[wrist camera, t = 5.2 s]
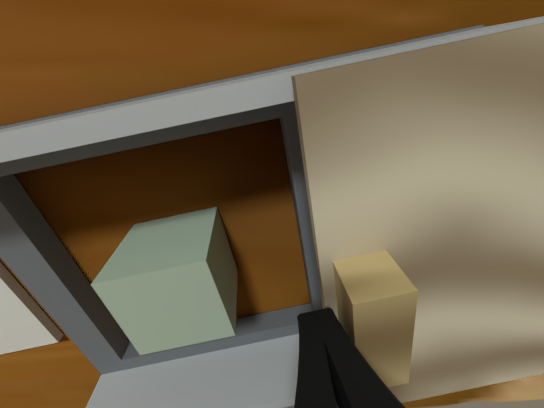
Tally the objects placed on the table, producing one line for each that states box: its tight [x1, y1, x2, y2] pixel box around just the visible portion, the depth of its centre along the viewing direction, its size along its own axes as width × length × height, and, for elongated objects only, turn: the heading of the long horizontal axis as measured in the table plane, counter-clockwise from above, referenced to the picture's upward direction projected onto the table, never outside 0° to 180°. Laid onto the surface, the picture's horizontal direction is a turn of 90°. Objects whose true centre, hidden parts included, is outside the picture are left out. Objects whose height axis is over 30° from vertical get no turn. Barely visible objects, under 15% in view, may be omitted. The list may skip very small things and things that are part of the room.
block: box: [91, 207, 238, 355], centre depth 14 cm, size 5×5×5 cm
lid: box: [291, 23, 544, 408], centre depth 10 cm, size 18×13×3 cm
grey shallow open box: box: [0, 16, 544, 408], centre depth 14 cm, size 18×25×6 cm
